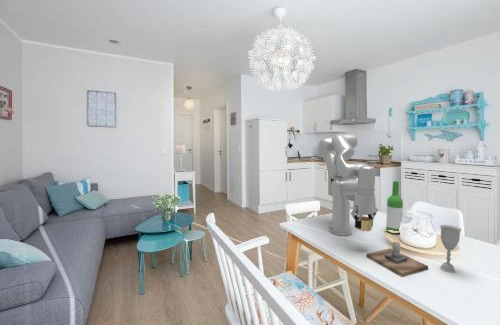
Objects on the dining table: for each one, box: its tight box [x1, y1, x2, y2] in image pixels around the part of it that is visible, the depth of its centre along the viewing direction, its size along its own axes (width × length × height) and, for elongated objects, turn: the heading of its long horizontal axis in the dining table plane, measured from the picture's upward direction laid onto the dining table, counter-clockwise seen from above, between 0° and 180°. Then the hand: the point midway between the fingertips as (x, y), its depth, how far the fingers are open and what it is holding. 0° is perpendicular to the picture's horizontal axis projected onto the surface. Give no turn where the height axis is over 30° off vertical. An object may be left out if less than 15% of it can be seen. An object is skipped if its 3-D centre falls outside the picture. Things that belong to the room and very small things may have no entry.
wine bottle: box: [385, 180, 404, 231], centre depth 141 cm, size 8×8×30 cm
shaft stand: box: [365, 241, 429, 277], centre depth 108 cm, size 18×15×9 cm
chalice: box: [439, 224, 463, 274], centre depth 101 cm, size 7×7×18 cm
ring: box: [356, 215, 373, 232], centre depth 120 cm, size 7×7×5 cm
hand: (363, 226), depth 120 cm, fingers closed on ring, 6 cm apart
